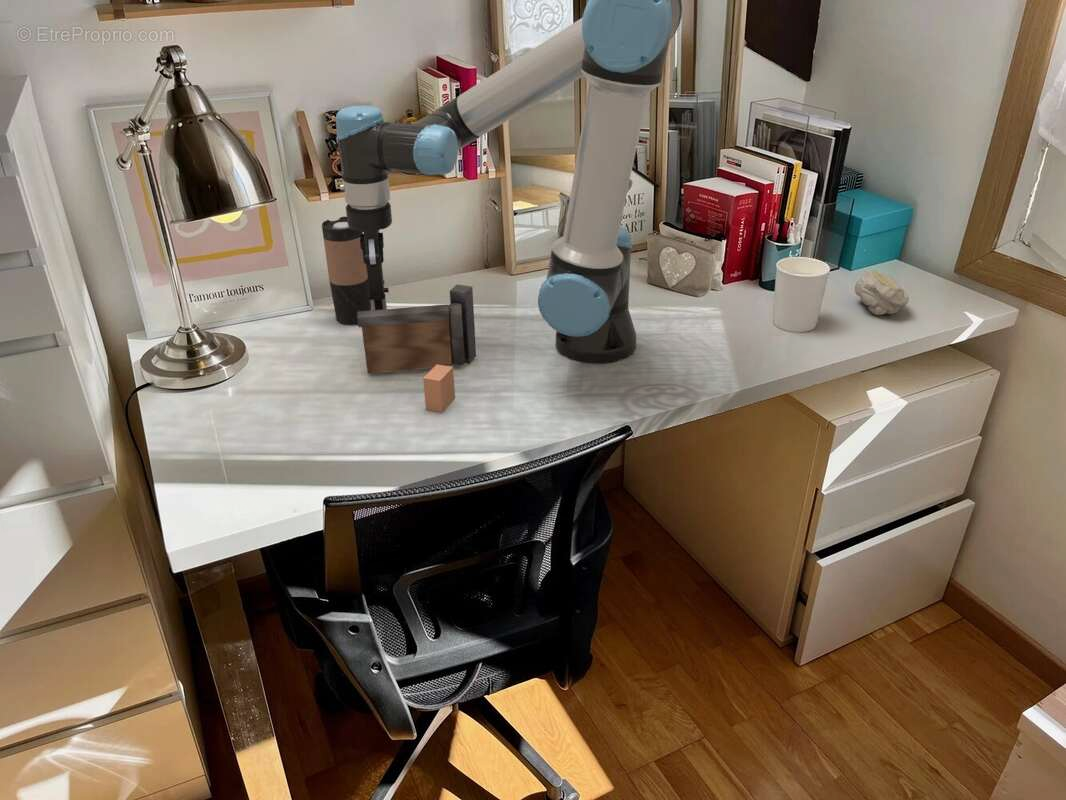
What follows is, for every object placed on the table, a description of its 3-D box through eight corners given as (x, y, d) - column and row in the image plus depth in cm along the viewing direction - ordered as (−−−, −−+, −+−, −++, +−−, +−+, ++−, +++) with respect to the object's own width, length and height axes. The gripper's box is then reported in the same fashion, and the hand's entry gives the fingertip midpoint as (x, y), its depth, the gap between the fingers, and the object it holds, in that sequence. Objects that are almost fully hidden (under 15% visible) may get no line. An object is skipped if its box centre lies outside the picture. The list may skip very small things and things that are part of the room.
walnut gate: (464, 358, 156) (460, 302, 150) (465, 365, 154) (461, 308, 148) (364, 367, 154) (357, 310, 148) (364, 374, 151) (357, 316, 146)
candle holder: (764, 329, 166) (772, 271, 160) (772, 310, 174) (780, 254, 168) (817, 337, 163) (827, 278, 157) (822, 317, 170) (832, 260, 164)
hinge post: (476, 356, 158) (472, 286, 151) (469, 364, 156) (465, 293, 149) (461, 354, 159) (456, 284, 152) (454, 361, 157) (449, 290, 150)
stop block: (455, 398, 145) (452, 367, 142) (442, 412, 141) (439, 381, 138) (439, 395, 146) (436, 364, 143) (426, 409, 142) (423, 378, 139)
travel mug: (365, 327, 170) (352, 230, 160) (329, 324, 171) (314, 228, 161) (378, 311, 176) (367, 217, 166) (343, 308, 178) (330, 215, 167)
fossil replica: (874, 295, 180) (838, 308, 176) (877, 257, 176) (840, 270, 172) (921, 312, 170) (884, 326, 166) (925, 273, 166) (887, 286, 163)
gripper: (346, 192, 150) (361, 315, 162) (344, 216, 139) (360, 346, 151) (389, 190, 151) (401, 312, 163) (390, 214, 140) (403, 343, 152)
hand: (381, 328), depth 157 cm, fingers closed
